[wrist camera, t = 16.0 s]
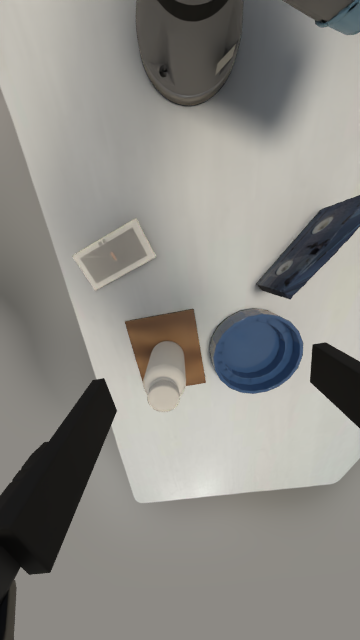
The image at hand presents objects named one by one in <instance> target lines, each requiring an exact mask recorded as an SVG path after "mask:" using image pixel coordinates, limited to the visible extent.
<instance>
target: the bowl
mask: <svg viewBox="0 0 360 640" xmlns="http://www.w3.org/2000/svg"><path fill="white" fill-rule="evenodd" d="M210 354H211V360H212V363H213V366H214V369H215V371H216V373H217V375H218V376H219V378H220V380H221V381H222V382H223V383H225V384H226V385H227V386H228V387H229V388H231V389H234V390H236V391H239V392H242V393H252V394H254V393H261V392H267V391H269V390H271V389H274V388H276V387H279V386H280V385H281V384H283V383H284V382H285V381H287V380H288V379H289V378H290V377H291V376H292V375H293V373H294V372H295V371H296V369H297V368H298V366H299V364H300V361H301V359H302V356H303V341H302V339H301V336H300V333H299V331H298V330H297V329H296V328H295V326H294V325H293V324H292V323H291V322H290V321H288V320H286V319H284V318H282V317H280V316H278V315H276V314H274V313H272V312H270V311H268V310H263V309H255V308H254V309H248V310H242V311H239V312H237V313H235V314H233V315H231V316H229V317H228V318H227V319H225V320H224V321H223V322H222V323H221V324H220V325H219V326H218V328H217V329H216V331H215V333H214V335H213V336H212V340H211V345H210Z"/></svg>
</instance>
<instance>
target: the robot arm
mask: <svg viewBox="0 0 360 640" xmlns="http://www.w3.org/2000/svg"><path fill="white" fill-rule="evenodd" d="M283 1H284V2H286V3H288V4H289V5H291V6H293V7H294V8H296V9H298V10H299V11H301V12H302V13H304V14H306V15H307V16H309V17H311V18H312V19H314V20H315V24H316V25H317V26H319V27H327V26H328V27H331V28H333V29H335V30H337V31H339V32H341V33H343V34H346V35H354V34H357V33H359V32H360V0H283ZM242 21H243V0H137V1H136V31H137V38H138V43H139V49H140V54H141V58H142V62H143V65H144V68H145V70H146V73H147V75H148V77H149V79H150V80H151V82H152V83H153V85H154V86H155V88H156V89H157V90H158V91H159V92H160V93H161V94H162V95H163V96H164V97H166V98H167V99H169V100H170V101H172V102H174V103H177V104H181V105H196V104H200V103H202V102H204V101H206V100H208V99H210V98H211V97H212V96H214V95H215V94H216V93H217V92H218V91H219V90H220V88H221V87H222V86H223V85H224V83H225V81H226V80H227V78H228V76H229V74H230V72H231V70H232V67H233V64H234V61H235V58H236V54H237V51H238V47H239V43H240V39H241V33H242ZM310 382H311V383H312V384H313V385H314V386H315V387H316V388H317V389H318V390H319V391H320V392H321V393H323V394H324V395H325V396H326V397H327V398H328V399H329V400H330V401H331V402H332V403H333V404H334V405H335V406H336V407H338V408H339V409H340V410H341V411H342V412H343V413H344V414H345V415H346V416H347V417H348V418H349V419H350V420H351V421H353V422H354V423H355V424H356V425H357V426H358V427H359V428H360V362H359V361H358V360H356V359H354V358H352V357H351V356H349V355H347V354H345V353H343V352H342V351H340V350H338V349H336V348H335V347H333V346H331V345H329V344H328V343H320V344H313V347H312V361H311V375H310ZM116 412H117V410H116V407H115V405H114V402H113V400H112V397H111V394H110V392H109V389H108V387H107V384H106V382H105V379H104V378H103V379H97V380H93V381H92V382H91V383H90V385H89V386H88V388H87V389H86V390H85V392H84V393H83V395H82V396H81V398H80V399H79V400H78V402H77V403H76V404H75V406H74V407H73V409H72V410H71V412H70V413H69V414H68V416H67V417H66V418H65V420H64V421H63V423H62V424H61V425H60V427H59V428H58V429H57V431H56V432H55V434H54V435H53V437H52V438H51V439H50V441H49V442H44V443H43V444H42V445H41V446H40V447H39V448H38V449H37V450H36V451H35V452H34V453H32V455H31V456H30V457H29V459H28V460H27V461H26V462H25V464H24V465H23V466H22V469H21V470H20V471H19V472H18V473H17V474H16V476H15V477H14V478H13V481H12V482H11V483H10V484H9V485H8V486H7V488H6V489H5V490H4V492H3V493H2V494H1V495H0V640H14V624H15V606H16V605H15V604H16V583H15V580H14V578H15V576H16V575H17V573H18V571H19V569H20V567H22V568H23V569H24V570H25V571H26V572H27V573H28V574H29V575H31V574H41V573H50V572H51V570H52V567H53V565H54V562H55V560H56V557H57V555H58V553H59V550H60V548H61V545H62V543H63V540H64V538H65V536H66V533H67V531H68V528H69V526H70V523H71V521H72V518H73V516H74V514H75V511H76V509H77V506H78V504H79V502H80V499H81V497H82V494H83V492H84V489H85V487H86V485H87V482H88V480H89V477H90V475H91V472H92V470H93V468H94V465H95V463H96V460H97V458H98V456H99V453H100V451H101V448H102V446H103V443H104V441H105V439H106V436H107V434H108V431H109V429H110V427H111V424H112V422H113V419H114V417H115V414H116Z"/></svg>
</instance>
